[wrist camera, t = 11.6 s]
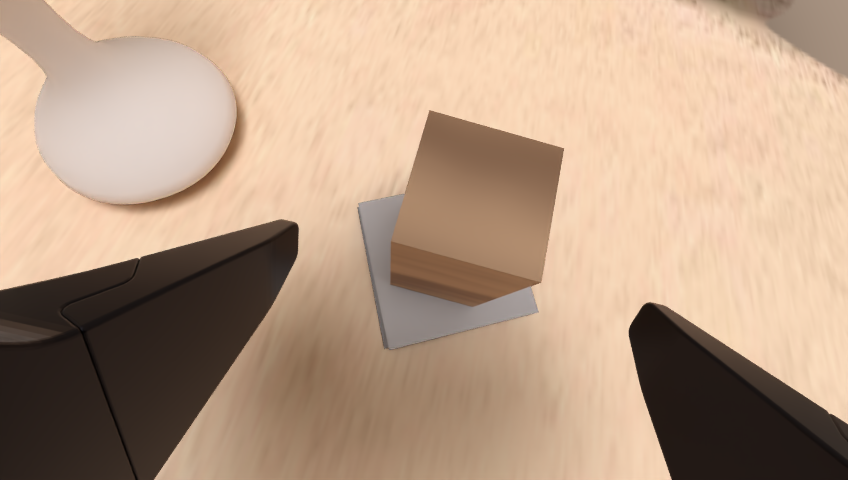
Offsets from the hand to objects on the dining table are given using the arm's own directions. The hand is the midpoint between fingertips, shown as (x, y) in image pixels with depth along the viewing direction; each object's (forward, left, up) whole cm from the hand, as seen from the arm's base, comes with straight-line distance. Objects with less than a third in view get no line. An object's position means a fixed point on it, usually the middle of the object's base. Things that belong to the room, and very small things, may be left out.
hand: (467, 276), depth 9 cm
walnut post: (+1, +3, -12) cm, 13 cm away
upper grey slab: (+2, +3, -13) cm, 14 cm away
